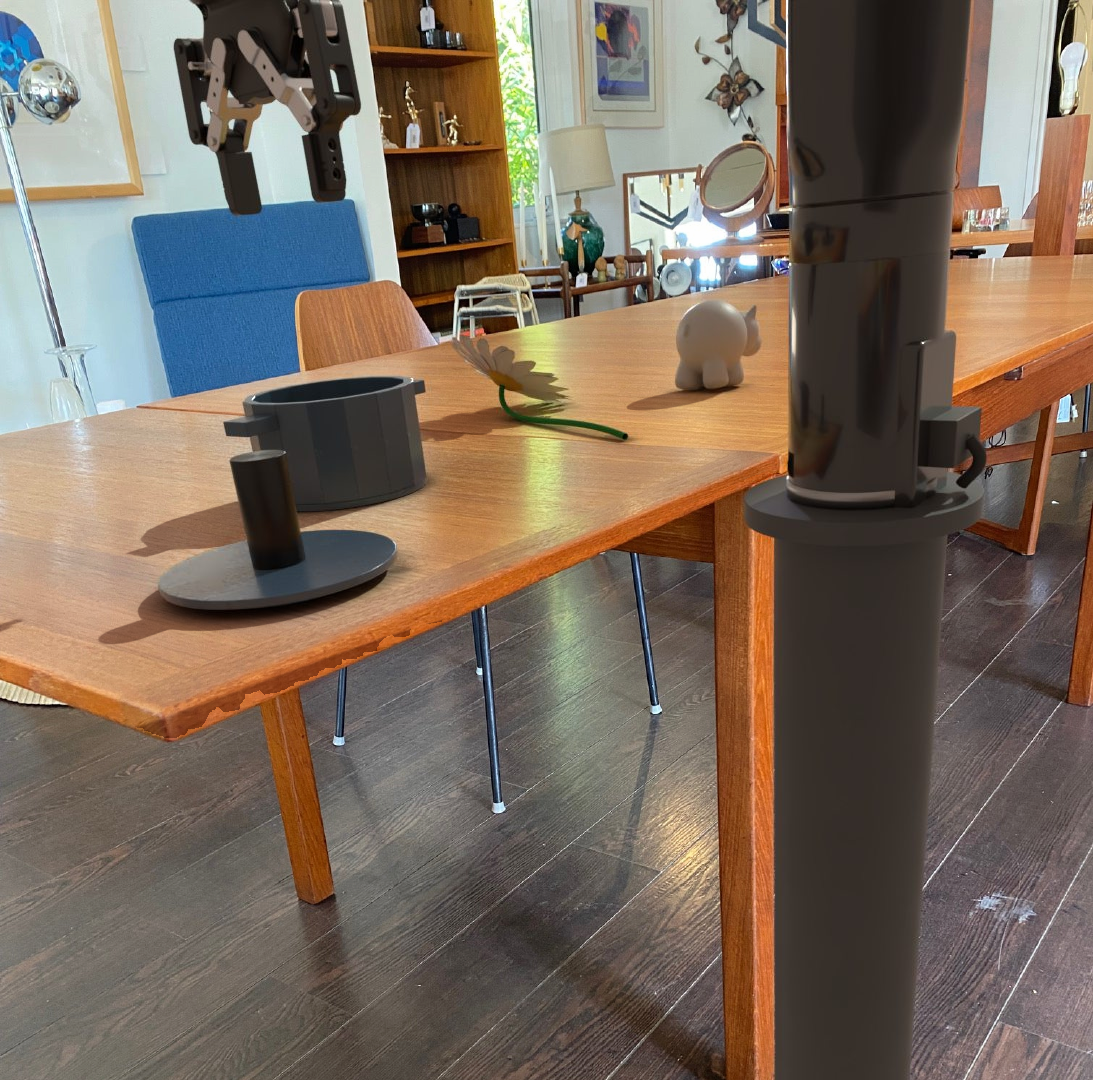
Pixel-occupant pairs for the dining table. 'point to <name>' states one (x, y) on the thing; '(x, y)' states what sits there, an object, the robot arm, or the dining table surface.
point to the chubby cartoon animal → (715, 344)
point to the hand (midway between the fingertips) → (286, 208)
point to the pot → (340, 438)
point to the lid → (274, 550)
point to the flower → (520, 381)
